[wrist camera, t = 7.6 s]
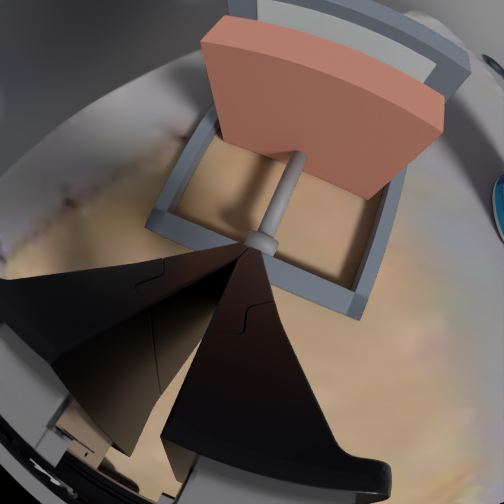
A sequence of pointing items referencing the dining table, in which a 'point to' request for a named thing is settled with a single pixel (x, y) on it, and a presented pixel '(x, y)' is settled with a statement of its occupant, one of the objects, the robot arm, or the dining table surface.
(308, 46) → the sliding jaw
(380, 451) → the dining table surface
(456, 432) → the dining table surface
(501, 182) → the beverage bottle
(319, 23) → the vise body
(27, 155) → the dining table surface
